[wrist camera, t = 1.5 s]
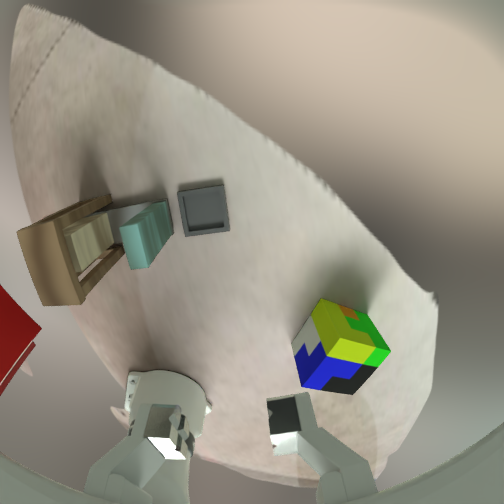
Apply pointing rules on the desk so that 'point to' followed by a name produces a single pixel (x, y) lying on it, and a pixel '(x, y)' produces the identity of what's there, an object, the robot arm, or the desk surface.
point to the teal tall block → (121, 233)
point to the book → (14, 337)
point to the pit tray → (203, 210)
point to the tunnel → (63, 256)
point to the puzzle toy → (337, 349)
